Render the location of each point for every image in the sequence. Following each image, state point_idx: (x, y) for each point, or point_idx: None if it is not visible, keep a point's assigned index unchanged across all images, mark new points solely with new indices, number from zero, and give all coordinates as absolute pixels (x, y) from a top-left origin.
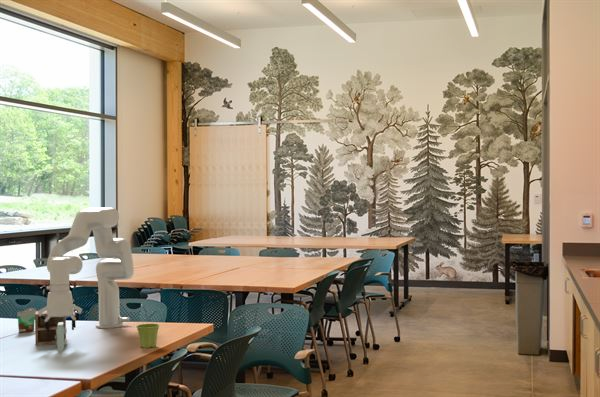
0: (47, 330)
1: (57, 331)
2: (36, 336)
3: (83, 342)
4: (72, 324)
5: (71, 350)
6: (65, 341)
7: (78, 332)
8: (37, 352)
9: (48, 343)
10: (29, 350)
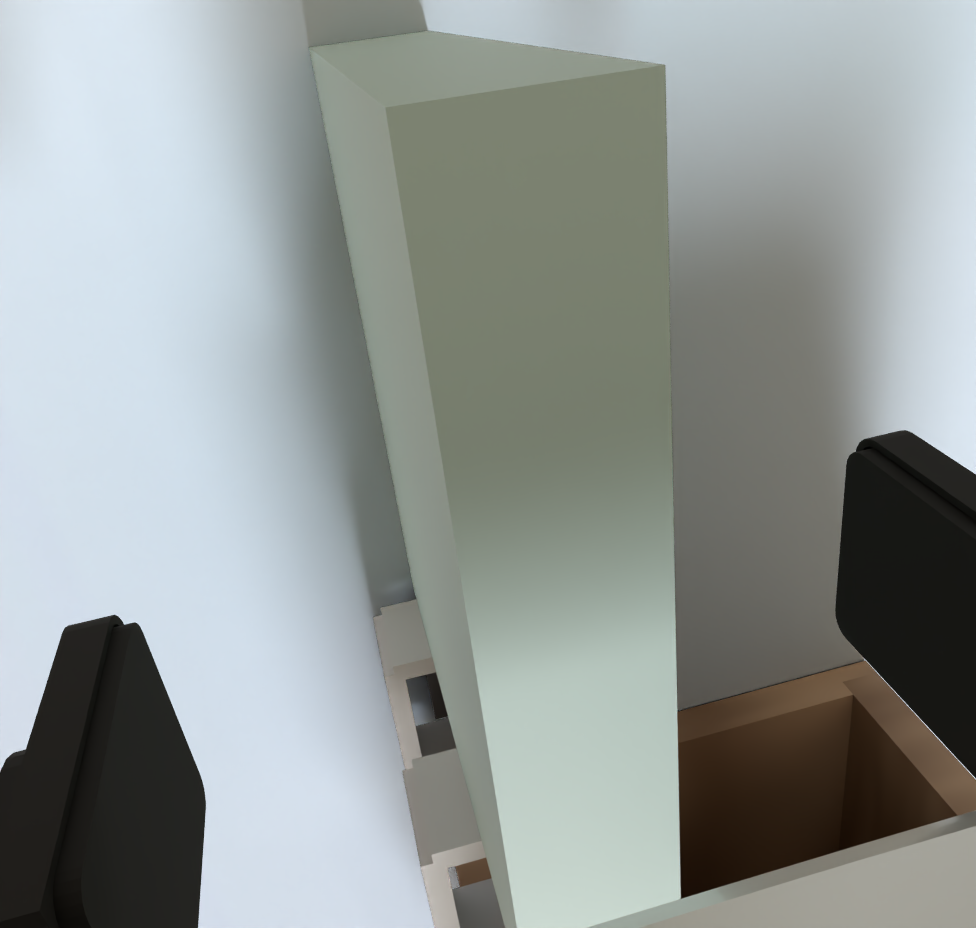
0: (910, 439)
1: (569, 54)
2: (938, 763)
3: None
4: (71, 756)
5: (108, 97)
6: (397, 643)
7: None
8: (845, 17)
9: (693, 719)
10: (971, 267)
